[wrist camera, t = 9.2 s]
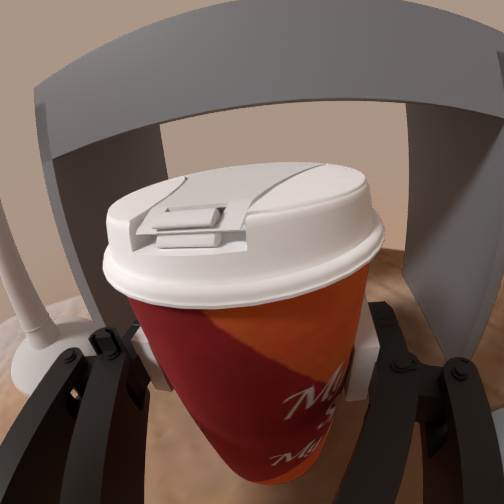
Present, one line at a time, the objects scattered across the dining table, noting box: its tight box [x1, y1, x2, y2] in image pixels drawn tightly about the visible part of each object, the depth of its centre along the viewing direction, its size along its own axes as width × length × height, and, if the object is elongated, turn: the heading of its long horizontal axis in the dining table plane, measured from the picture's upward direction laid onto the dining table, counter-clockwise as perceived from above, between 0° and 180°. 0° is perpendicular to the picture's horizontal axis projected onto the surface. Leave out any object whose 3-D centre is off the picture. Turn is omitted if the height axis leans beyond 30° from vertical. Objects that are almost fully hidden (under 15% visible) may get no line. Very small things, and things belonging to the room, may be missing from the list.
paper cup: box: [103, 162, 385, 485], centre depth 10 cm, size 8×8×14 cm
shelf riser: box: [34, 0, 504, 361], centre depth 20 cm, size 28×16×24 cm, turn 81°
